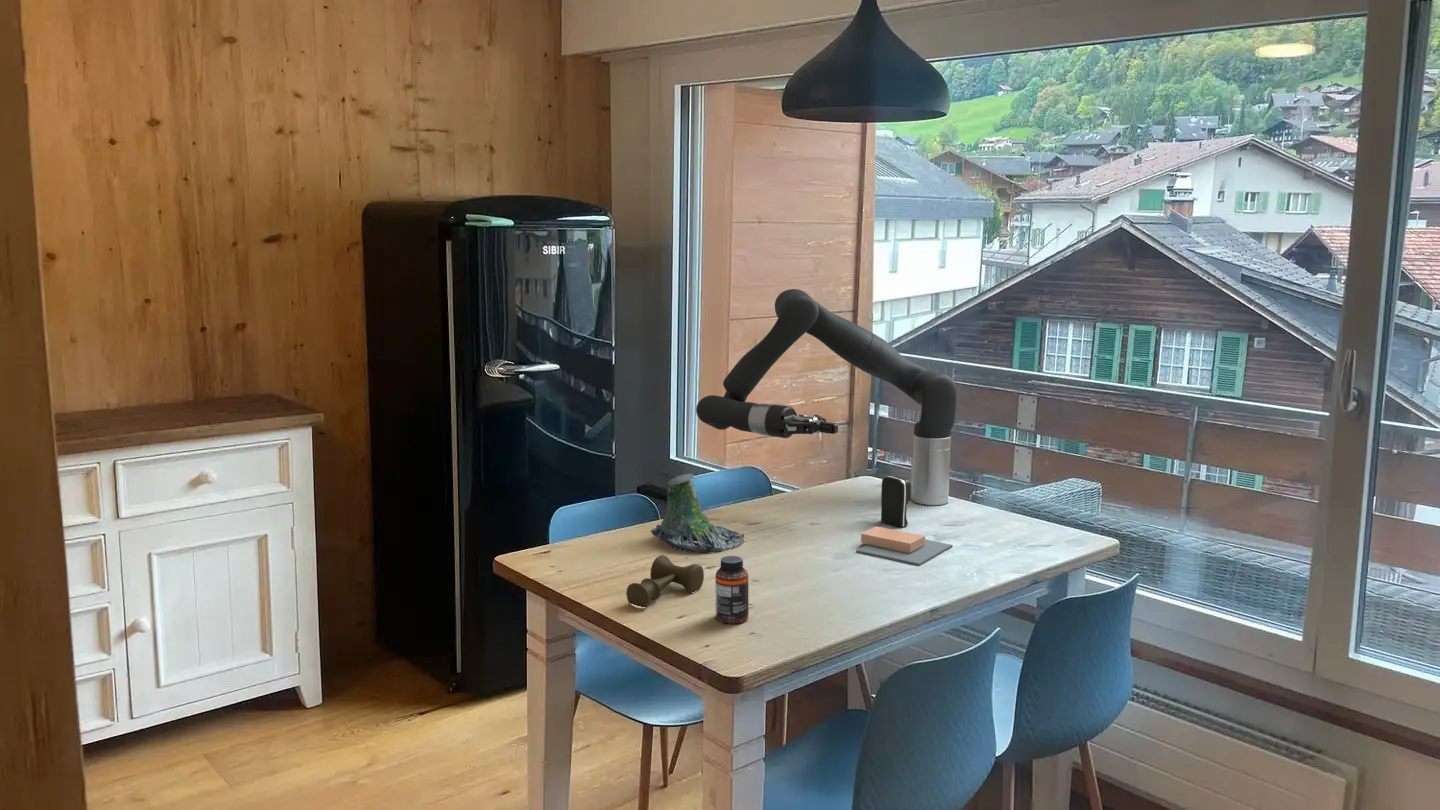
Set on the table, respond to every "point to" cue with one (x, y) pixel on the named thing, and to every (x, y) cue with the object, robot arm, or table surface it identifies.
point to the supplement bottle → (732, 591)
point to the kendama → (664, 581)
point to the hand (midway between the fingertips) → (836, 428)
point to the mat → (914, 557)
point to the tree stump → (691, 522)
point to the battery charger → (895, 500)
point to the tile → (893, 539)
